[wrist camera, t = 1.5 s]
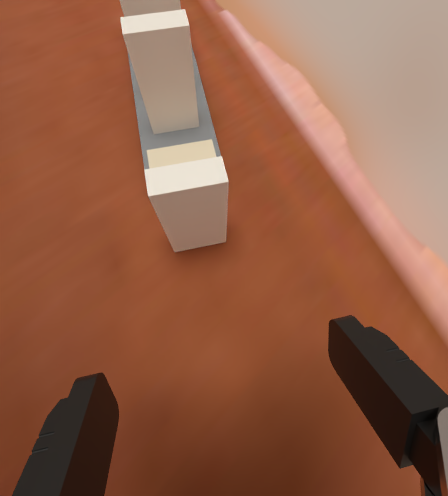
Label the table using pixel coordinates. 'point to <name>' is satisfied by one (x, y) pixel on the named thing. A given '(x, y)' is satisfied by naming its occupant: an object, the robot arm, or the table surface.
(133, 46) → the domino
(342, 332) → the robot arm
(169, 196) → the domino
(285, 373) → the table surface
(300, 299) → the table surface
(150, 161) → the board
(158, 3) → the domino
